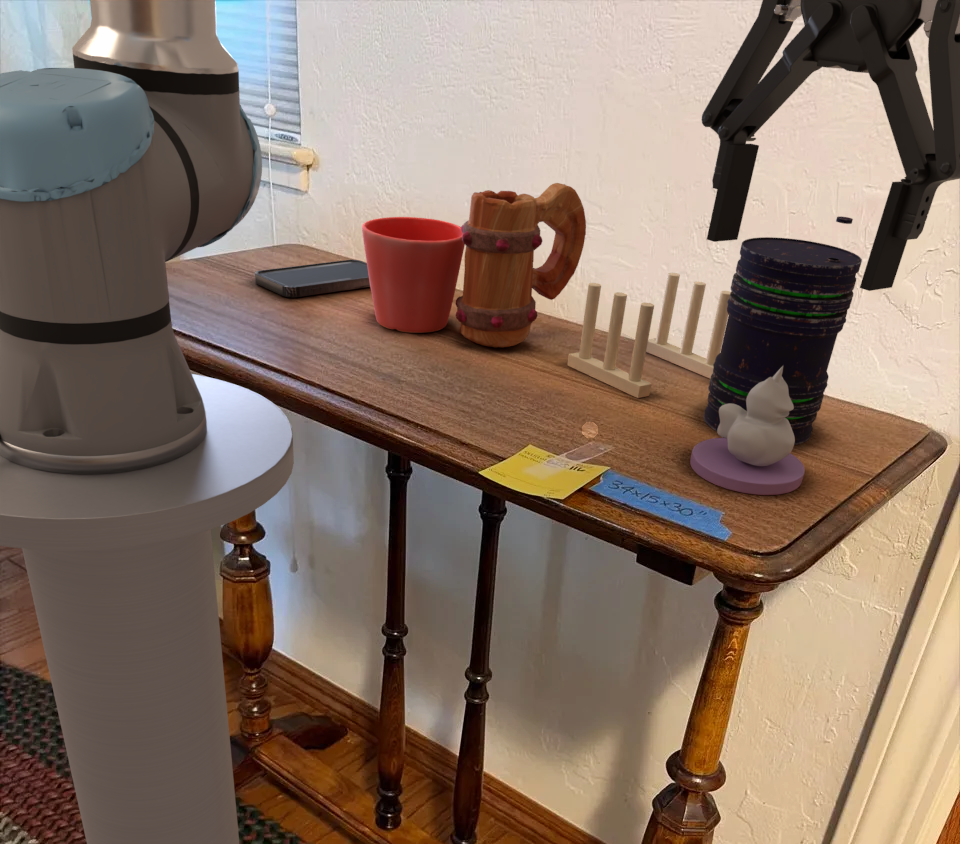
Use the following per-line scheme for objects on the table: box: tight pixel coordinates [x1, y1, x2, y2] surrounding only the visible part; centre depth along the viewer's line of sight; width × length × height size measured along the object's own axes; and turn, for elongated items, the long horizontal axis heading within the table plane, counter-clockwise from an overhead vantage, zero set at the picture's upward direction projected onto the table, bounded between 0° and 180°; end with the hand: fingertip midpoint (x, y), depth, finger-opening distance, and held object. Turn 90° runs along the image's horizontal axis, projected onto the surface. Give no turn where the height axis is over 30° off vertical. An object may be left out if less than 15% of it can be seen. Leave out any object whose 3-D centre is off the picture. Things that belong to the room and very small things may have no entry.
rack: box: [567, 272, 731, 399], centre depth 94 cm, size 13×10×8 cm
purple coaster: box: [689, 437, 806, 496], centre depth 78 cm, size 9×9×1 cm
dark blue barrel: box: [703, 216, 863, 446], centre depth 81 cm, size 10×10×18 cm
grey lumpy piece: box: [716, 366, 795, 466], centre depth 75 cm, size 5×7×8 cm
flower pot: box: [361, 216, 466, 334], centre depth 101 cm, size 11×11×10 cm
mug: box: [455, 182, 587, 349], centre depth 98 cm, size 15×8×15 cm, turn 122°
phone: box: [254, 259, 371, 298], centre depth 113 cm, size 8×1×15 cm
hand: (794, 262), depth 69 cm, fingers open, 13 cm apart
